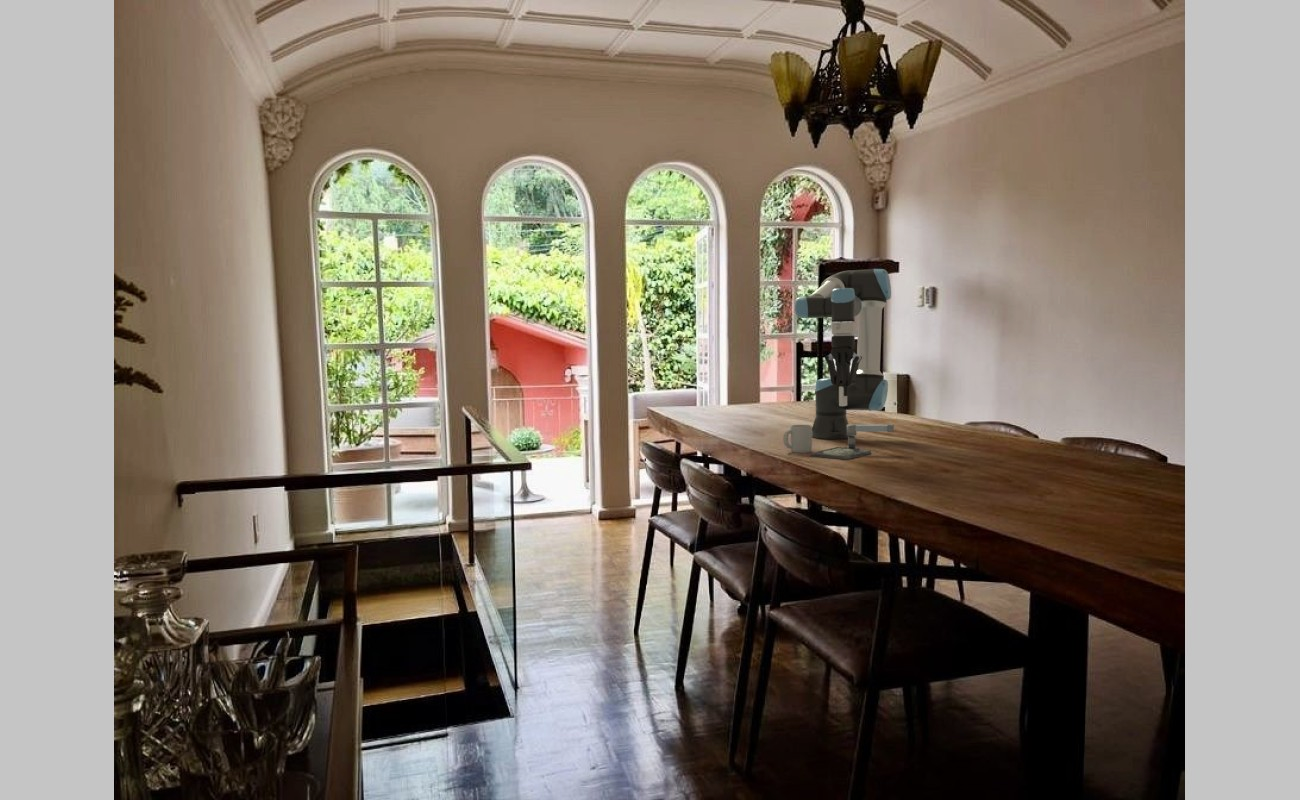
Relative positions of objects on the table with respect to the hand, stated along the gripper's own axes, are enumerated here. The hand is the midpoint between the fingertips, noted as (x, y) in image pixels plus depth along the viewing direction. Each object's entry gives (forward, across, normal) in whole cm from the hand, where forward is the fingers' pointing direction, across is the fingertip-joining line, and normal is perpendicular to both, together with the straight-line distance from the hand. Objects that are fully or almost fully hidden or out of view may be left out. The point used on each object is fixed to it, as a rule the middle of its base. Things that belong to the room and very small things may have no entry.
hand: (843, 405), depth 269 cm
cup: (+17, -16, -4) cm, 23 cm away
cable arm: (+11, +5, +9) cm, 15 cm away
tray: (+16, 0, -1) cm, 16 cm away
